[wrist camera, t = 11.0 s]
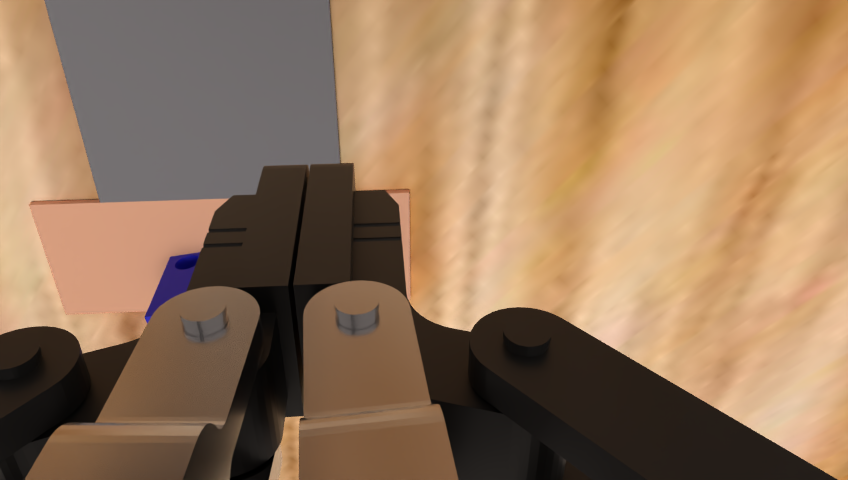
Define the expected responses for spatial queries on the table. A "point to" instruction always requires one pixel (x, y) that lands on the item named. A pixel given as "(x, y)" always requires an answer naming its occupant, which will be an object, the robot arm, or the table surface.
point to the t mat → (181, 130)
